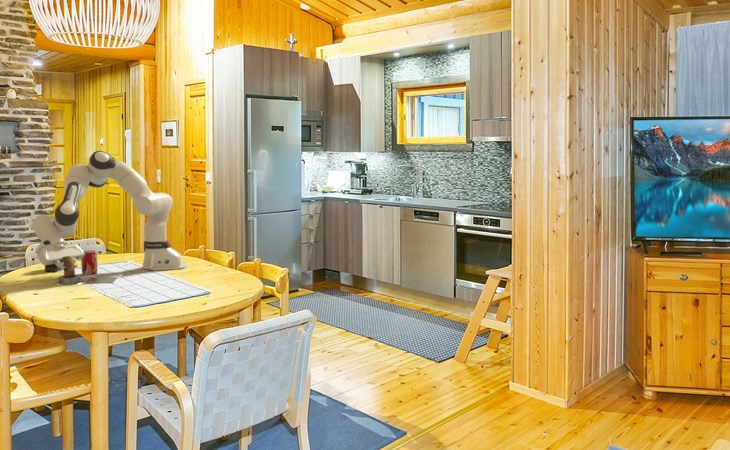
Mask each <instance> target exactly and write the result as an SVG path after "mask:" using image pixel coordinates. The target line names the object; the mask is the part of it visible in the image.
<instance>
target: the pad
mask: <svg viewBox="0 0 730 450" xmlns="http://www.w3.org/2000/svg"><path fill="white" fill-rule="evenodd" d="M117 279H118V277H117V276H113V277H111V276H110V277H90V278H89V279H88V280H86V281H85V282H84V284H86V285H88V284H90V285H93V284H95V285H96V284H114V282H116V280H117Z"/></svg>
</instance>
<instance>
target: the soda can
mask: <svg viewBox="0 0 730 450" xmlns="http://www.w3.org/2000/svg"><path fill="white" fill-rule="evenodd" d="M82 251H83V252H84V256H83V258H82V259H80V260H81V261H80V262H81V263H80V266H81V275H83V276H93V275H98V255H97V253H96V250H82Z"/></svg>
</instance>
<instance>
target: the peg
mask: <svg viewBox="0 0 730 450" xmlns="http://www.w3.org/2000/svg"><path fill="white" fill-rule="evenodd" d="M63 262H64V265H65V266H66V269H65V270H63V275H64V278H71V277H75V274H76V270H75V269H76V268H74V256H65V257H63Z"/></svg>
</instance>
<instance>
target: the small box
mask: <svg viewBox="0 0 730 450" xmlns="http://www.w3.org/2000/svg"><path fill="white" fill-rule="evenodd" d="M61 264H63V265H64V262H62V263H61ZM59 271H62V270H61V268H60V267H58V266H56V265H55V264H50V265H44V272H59Z"/></svg>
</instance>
